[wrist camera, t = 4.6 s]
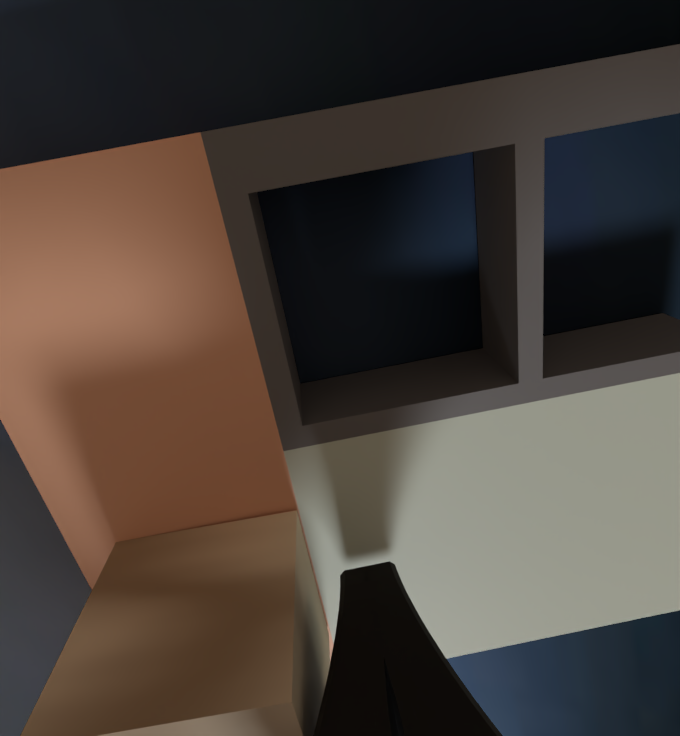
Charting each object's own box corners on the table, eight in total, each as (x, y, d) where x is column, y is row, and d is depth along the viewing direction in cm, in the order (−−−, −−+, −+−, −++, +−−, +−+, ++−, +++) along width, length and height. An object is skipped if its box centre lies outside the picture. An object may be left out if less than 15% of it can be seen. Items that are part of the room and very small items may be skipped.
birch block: (172, 660, 12) (114, 880, 8) (116, 542, 10) (12, 749, 7) (328, 634, 12) (338, 842, 8) (296, 510, 10) (291, 702, 7)
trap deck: (176, 648, 15) (160, 717, 13) (-41, 185, 9) (-122, 191, 7) (635, 554, 15) (682, 609, 13) (693, 49, 9) (789, 23, 8)
